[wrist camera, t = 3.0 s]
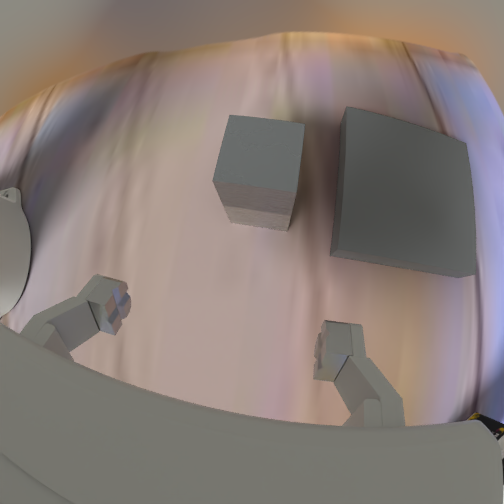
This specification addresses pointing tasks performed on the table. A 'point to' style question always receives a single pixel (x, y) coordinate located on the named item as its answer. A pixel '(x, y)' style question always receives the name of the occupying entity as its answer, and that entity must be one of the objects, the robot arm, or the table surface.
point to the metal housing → (259, 170)
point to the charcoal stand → (403, 197)
